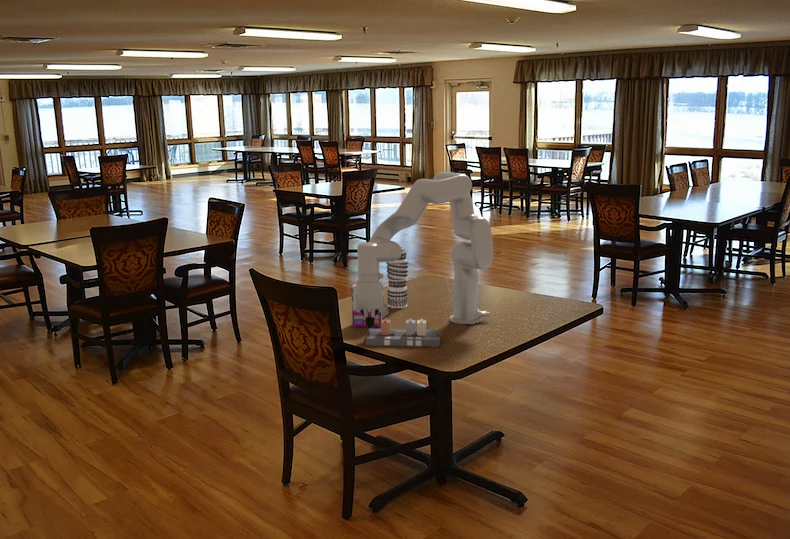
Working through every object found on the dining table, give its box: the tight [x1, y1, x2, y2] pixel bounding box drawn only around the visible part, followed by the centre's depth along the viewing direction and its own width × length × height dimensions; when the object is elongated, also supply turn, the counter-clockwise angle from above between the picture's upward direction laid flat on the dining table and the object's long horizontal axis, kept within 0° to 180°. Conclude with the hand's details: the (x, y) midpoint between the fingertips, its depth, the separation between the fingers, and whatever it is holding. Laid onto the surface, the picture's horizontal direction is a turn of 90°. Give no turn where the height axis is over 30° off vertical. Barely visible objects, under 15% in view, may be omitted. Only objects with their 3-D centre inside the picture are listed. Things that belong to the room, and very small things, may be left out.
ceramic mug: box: [381, 301, 389, 320], centre depth 290 cm, size 11×8×8 cm
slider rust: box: [380, 317, 392, 335], centre depth 260 cm, size 3×4×5 cm
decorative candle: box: [385, 246, 409, 309], centre depth 304 cm, size 9×9×25 cm
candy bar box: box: [351, 282, 383, 328], centre depth 277 cm, size 11×5×16 cm, turn 90°
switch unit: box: [365, 328, 441, 348], centre depth 260 cm, size 26×12×3 cm, turn 86°
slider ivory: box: [416, 318, 427, 336], centre depth 259 cm, size 3×4×5 cm
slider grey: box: [405, 318, 416, 336], centre depth 259 cm, size 3×4×5 cm
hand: (370, 327), depth 261 cm, fingers closed
